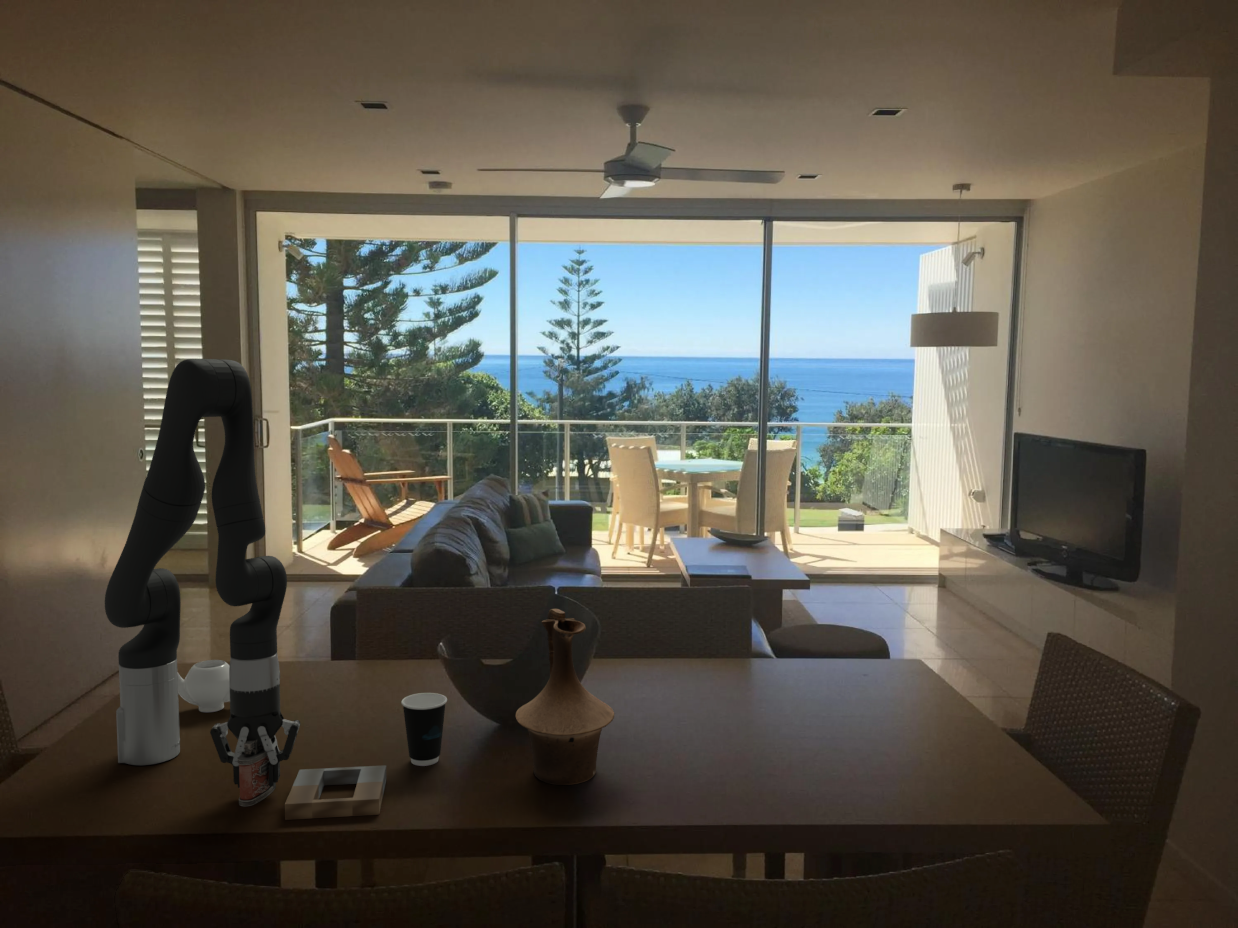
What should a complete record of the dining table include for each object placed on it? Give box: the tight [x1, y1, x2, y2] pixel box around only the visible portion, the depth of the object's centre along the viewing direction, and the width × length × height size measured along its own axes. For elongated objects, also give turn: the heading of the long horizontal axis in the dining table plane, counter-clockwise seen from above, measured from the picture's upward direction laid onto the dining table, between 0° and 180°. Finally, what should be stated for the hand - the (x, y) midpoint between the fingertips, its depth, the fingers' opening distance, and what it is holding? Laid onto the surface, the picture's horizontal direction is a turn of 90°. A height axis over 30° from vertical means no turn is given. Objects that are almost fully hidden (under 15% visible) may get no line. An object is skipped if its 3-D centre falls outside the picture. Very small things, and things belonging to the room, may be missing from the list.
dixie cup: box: [401, 692, 448, 767], centre depth 171 cm, size 8×8×11 cm
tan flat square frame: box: [284, 764, 387, 821], centre depth 155 cm, size 14×13×2 cm
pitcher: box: [515, 608, 615, 786], centre depth 165 cm, size 18×17×28 cm
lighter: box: [238, 739, 277, 807], centre depth 156 cm, size 8×3×10 cm, turn 168°
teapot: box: [177, 659, 230, 713], centre depth 196 cm, size 10×20×9 cm, turn 95°
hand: (257, 784), depth 156 cm, fingers open, 4 cm apart
